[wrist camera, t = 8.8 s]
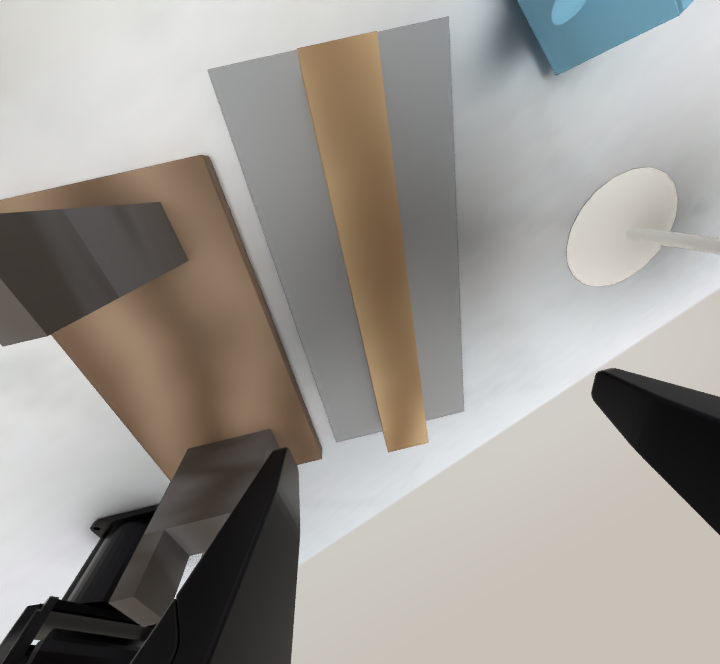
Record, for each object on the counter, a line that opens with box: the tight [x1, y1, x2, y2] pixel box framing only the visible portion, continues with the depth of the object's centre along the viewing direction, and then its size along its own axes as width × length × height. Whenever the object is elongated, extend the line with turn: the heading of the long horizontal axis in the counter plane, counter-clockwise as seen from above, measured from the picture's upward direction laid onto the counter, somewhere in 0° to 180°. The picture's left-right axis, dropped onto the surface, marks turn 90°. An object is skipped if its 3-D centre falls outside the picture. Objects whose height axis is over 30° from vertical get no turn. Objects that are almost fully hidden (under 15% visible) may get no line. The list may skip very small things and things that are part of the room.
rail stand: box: [0, 155, 322, 627], centre depth 15 cm, size 12×22×10 cm, turn 12°
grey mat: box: [208, 16, 464, 442], centre depth 18 cm, size 11×24×1 cm, turn 12°
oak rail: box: [297, 31, 428, 452], centre depth 17 cm, size 3×22×3 cm, turn 12°
